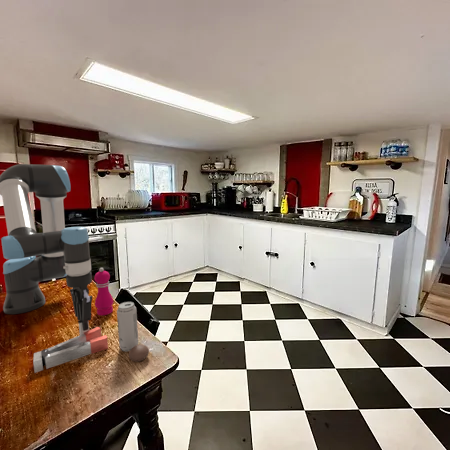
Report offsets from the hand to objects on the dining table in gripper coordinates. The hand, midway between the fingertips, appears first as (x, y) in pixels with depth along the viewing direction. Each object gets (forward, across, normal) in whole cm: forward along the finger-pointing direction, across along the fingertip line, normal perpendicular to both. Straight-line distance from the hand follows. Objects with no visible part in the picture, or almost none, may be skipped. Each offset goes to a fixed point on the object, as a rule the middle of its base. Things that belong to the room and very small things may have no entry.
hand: (85, 337), depth 89 cm
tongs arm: (+1, +2, -4) cm, 4 cm away
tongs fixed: (+1, +5, -6) cm, 8 cm away
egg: (+2, +23, +7) cm, 24 cm away
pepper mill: (+2, -16, +14) cm, 22 cm away
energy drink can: (+2, +15, +8) cm, 17 cm away
